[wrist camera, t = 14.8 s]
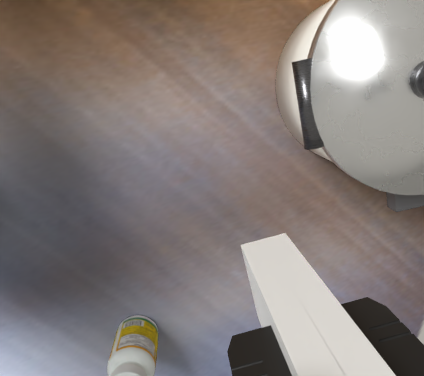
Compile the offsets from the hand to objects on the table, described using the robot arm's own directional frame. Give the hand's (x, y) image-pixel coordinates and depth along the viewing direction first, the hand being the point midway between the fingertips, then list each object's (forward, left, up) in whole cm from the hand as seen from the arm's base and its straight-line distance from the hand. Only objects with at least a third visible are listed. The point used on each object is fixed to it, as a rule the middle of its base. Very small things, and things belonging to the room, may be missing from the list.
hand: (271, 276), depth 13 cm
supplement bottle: (-3, -26, -33) cm, 42 cm away
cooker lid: (+15, +11, -21) cm, 28 cm away
